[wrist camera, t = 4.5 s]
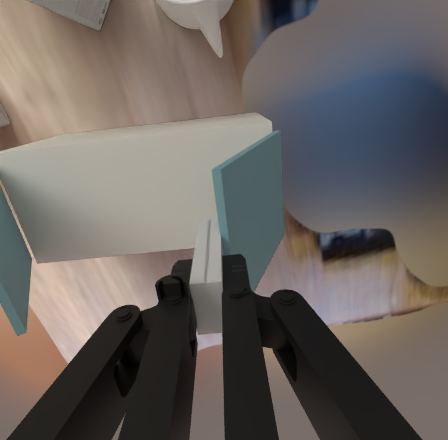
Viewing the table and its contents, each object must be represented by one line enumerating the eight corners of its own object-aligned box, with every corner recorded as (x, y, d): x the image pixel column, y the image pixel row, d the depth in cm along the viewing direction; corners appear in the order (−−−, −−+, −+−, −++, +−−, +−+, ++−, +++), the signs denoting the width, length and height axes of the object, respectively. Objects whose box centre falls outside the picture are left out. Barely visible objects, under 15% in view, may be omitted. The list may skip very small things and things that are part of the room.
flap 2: (275, 130, 24) (281, 130, 24) (279, 233, 28) (284, 234, 28) (211, 169, 14) (220, 169, 14) (230, 320, 18) (238, 321, 18)
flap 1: (31, 258, 29) (26, 260, 29) (-10, 162, 25) (-17, 163, 25) (26, 332, 19) (17, 336, 19) (-44, 194, 15) (-56, 197, 15)
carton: (61, 134, 36) (-10, 153, 25) (256, 112, 35) (271, 121, 24) (87, 217, 40) (37, 264, 29) (261, 199, 39) (276, 241, 28)
